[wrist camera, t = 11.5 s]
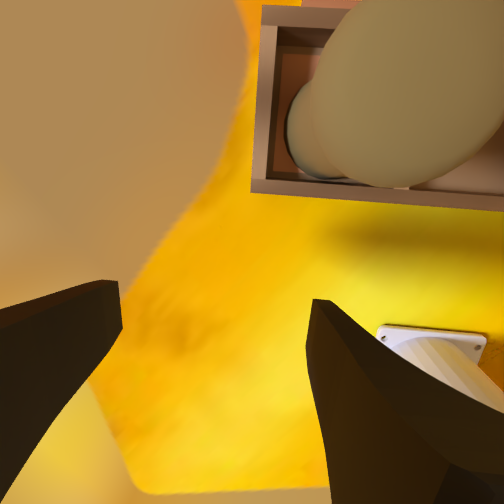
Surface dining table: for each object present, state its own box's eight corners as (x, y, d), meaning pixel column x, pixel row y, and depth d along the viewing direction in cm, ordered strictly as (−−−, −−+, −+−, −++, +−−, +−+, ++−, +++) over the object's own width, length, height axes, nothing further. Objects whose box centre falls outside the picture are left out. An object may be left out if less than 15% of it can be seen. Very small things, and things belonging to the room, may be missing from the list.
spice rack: (636, 216, 18) (706, 227, 15) (253, 187, 19) (250, 192, 16) (728, 42, 15) (838, 14, 12) (264, 19, 16) (263, -12, 13)
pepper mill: (364, 48, 15) (566, -192, 5) (398, 151, 17) (607, 139, 6) (266, 105, 16) (257, 11, 6) (306, 196, 18) (355, 248, 8)
